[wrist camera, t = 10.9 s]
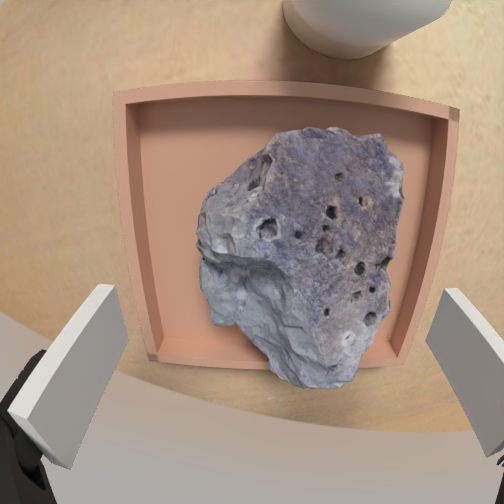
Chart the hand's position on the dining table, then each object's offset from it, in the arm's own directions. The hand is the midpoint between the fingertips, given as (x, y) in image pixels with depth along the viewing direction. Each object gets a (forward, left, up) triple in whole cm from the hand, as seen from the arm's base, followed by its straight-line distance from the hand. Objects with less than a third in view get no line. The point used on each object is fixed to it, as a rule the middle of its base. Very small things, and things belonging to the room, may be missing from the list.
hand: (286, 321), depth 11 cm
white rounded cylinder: (+3, +15, -10) cm, 18 cm away
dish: (0, 0, -10) cm, 10 cm away
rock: (+1, -1, -9) cm, 9 cm away
